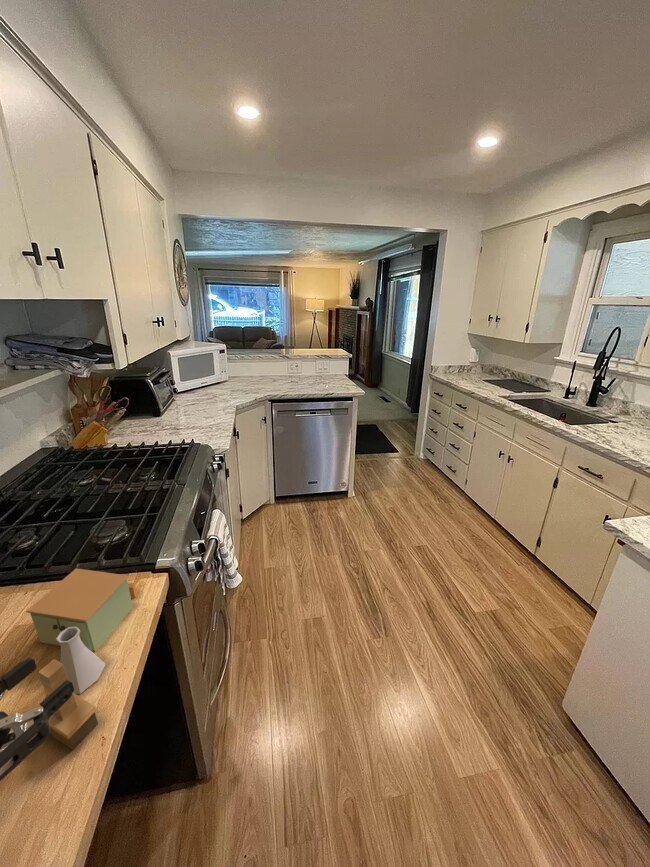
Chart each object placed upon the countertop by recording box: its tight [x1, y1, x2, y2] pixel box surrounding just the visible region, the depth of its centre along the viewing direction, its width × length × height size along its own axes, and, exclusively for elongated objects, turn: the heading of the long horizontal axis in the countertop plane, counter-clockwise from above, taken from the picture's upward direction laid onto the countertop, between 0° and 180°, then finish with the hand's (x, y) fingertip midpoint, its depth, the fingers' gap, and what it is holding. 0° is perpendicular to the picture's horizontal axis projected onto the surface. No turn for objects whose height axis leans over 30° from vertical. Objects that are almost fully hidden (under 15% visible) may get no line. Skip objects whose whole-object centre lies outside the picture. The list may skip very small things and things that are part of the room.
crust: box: [128, 582, 137, 599], centre depth 80 cm, size 3×3×2 cm
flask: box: [56, 627, 106, 695], centre depth 62 cm, size 7×7×10 cm
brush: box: [38, 658, 99, 751], centre depth 54 cm, size 4×7×13 cm, turn 67°
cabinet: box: [25, 567, 134, 653], centre depth 72 cm, size 13×12×8 cm
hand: (52, 672), depth 52 cm, fingers open, 8 cm apart
